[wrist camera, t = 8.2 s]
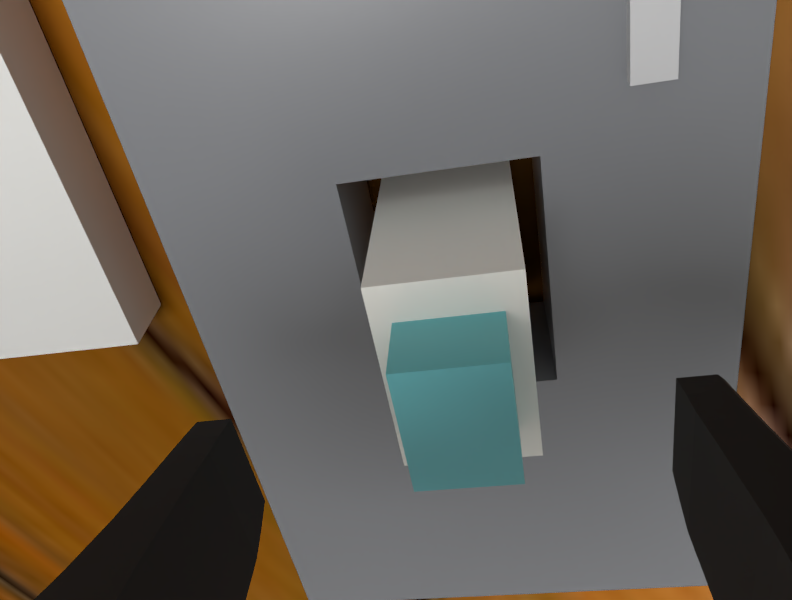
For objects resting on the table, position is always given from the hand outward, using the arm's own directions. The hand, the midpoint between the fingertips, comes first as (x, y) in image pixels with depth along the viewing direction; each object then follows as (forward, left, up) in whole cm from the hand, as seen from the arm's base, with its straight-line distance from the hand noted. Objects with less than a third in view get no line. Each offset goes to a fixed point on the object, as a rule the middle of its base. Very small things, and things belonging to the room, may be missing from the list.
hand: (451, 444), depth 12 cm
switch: (0, 0, -8) cm, 8 cm away
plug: (0, 0, -8) cm, 8 cm away
